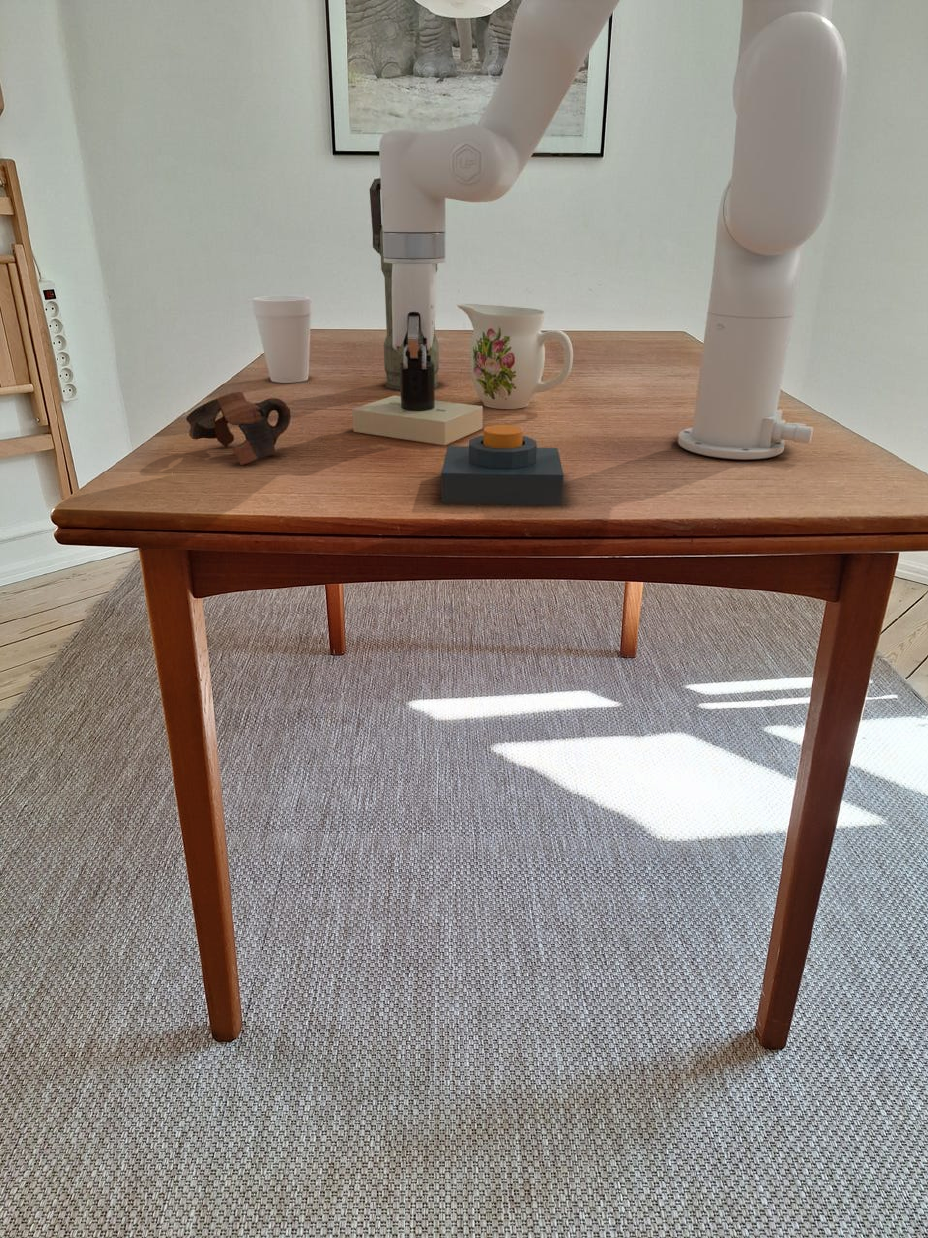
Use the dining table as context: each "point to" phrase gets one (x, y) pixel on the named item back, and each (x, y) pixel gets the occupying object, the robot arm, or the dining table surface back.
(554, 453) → the button base
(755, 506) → the dining table surface
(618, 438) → the dining table surface
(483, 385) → the pitcher
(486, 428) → the release button
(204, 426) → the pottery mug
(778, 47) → the robot arm
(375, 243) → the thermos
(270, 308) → the foam cup
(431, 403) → the dial
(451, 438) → the dial panel
